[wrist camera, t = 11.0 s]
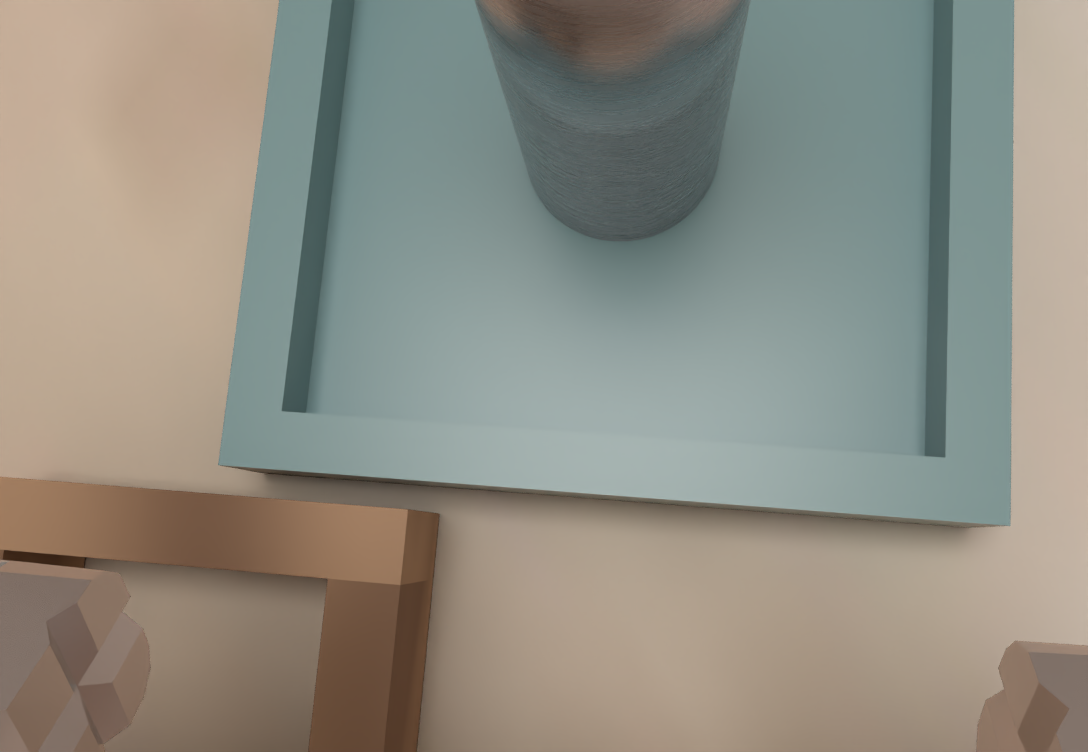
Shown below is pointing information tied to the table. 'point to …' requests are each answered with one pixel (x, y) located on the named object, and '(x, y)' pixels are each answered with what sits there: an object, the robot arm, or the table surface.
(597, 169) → the peg
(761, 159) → the tray
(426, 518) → the collar
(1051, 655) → the robot arm
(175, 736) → the table surface
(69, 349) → the table surface
